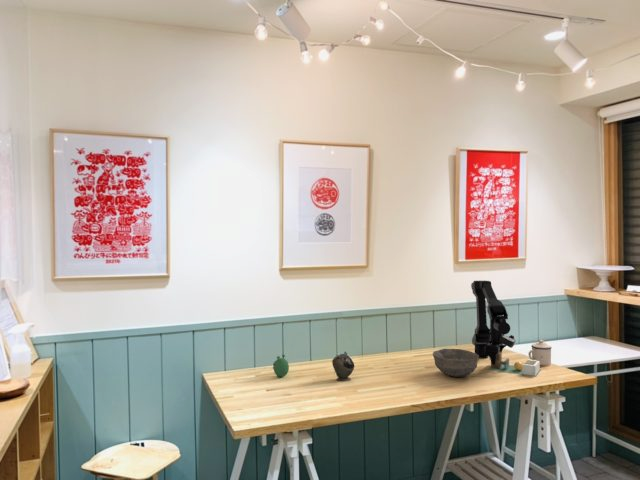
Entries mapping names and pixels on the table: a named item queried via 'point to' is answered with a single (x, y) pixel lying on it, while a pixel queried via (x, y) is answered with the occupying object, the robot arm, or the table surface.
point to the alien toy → (281, 366)
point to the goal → (531, 367)
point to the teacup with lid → (541, 352)
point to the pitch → (511, 370)
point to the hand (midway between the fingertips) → (496, 362)
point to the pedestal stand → (500, 362)
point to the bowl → (455, 361)
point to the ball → (518, 366)
